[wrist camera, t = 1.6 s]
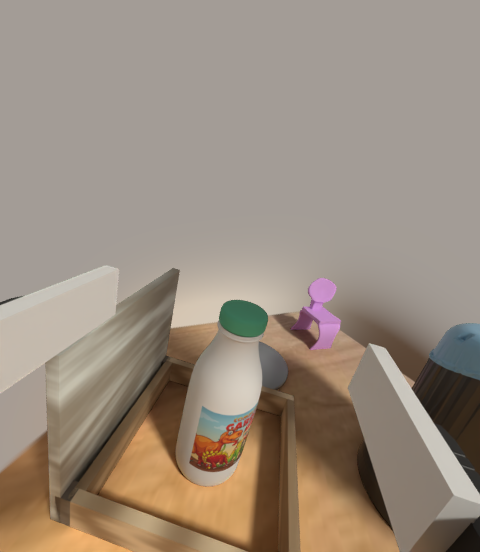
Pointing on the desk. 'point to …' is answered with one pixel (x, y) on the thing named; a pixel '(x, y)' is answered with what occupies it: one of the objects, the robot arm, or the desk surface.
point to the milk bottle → (222, 396)
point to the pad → (272, 367)
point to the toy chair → (320, 313)
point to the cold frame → (134, 425)
